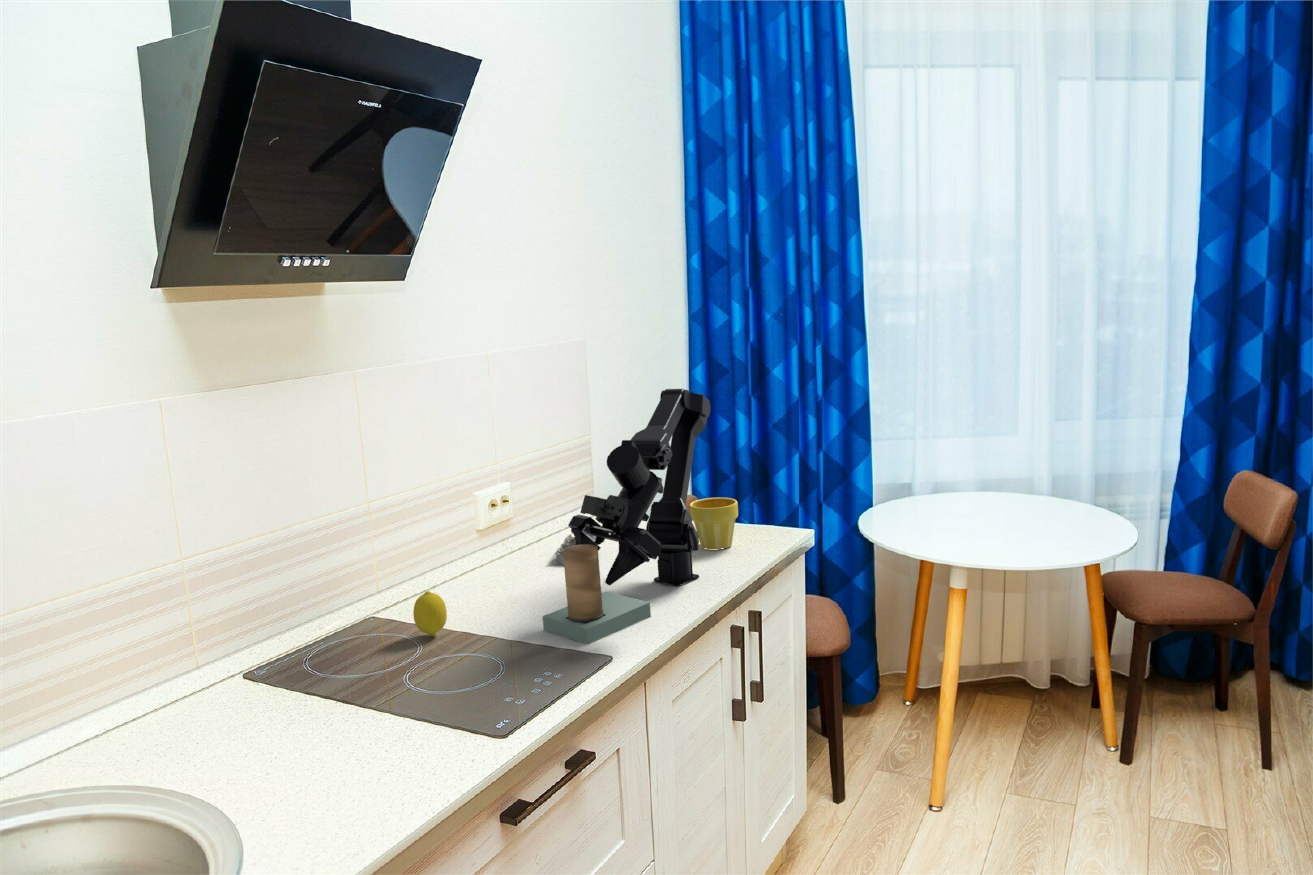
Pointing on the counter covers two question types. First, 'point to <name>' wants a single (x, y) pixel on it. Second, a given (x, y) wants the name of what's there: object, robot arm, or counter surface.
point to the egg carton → (567, 543)
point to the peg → (583, 583)
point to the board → (615, 618)
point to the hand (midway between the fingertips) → (589, 578)
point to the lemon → (430, 613)
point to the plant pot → (714, 521)
